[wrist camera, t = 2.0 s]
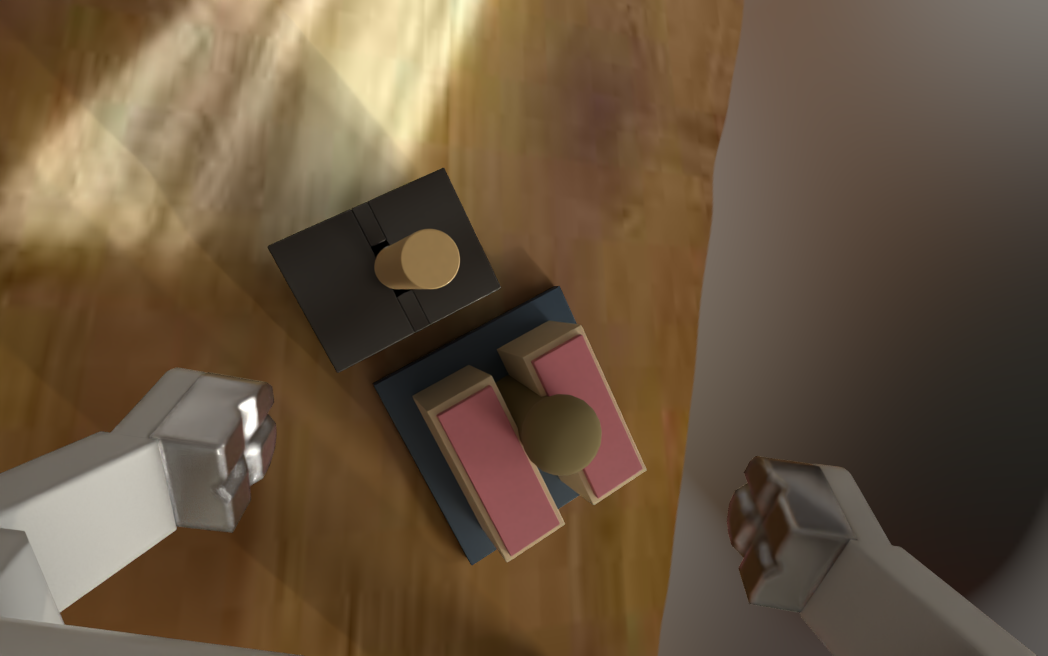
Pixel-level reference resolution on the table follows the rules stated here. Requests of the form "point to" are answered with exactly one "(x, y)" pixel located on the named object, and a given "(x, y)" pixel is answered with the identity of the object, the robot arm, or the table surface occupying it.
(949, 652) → the robot arm
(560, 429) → the brown piece
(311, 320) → the knife holder
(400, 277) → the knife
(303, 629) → the table surface
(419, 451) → the twin pink pillar stand
